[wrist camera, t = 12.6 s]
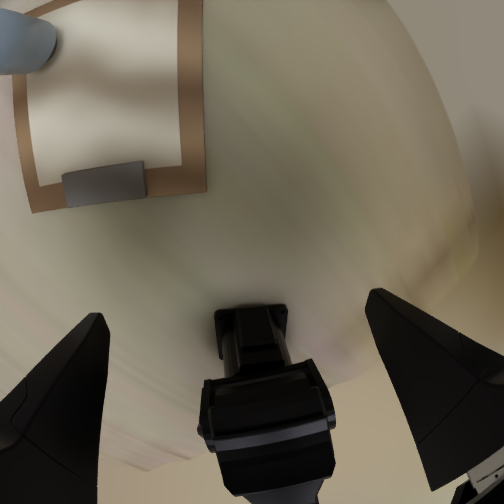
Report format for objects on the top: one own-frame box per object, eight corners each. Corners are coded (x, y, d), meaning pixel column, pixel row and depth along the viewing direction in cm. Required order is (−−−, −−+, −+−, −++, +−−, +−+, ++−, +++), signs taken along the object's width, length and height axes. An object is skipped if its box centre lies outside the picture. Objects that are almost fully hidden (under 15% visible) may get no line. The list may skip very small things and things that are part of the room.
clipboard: (206, 189, 19) (206, 195, 18) (35, 210, 18) (27, 217, 17) (203, -30, 11) (203, -38, 10) (19, 19, 10) (10, 16, 8)
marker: (65, 65, 13) (-27, 61, 5) (22, 81, 12) (-71, 95, 4) (67, 16, 11) (-16, -13, 3) (23, 34, 10) (-64, 27, 2)
